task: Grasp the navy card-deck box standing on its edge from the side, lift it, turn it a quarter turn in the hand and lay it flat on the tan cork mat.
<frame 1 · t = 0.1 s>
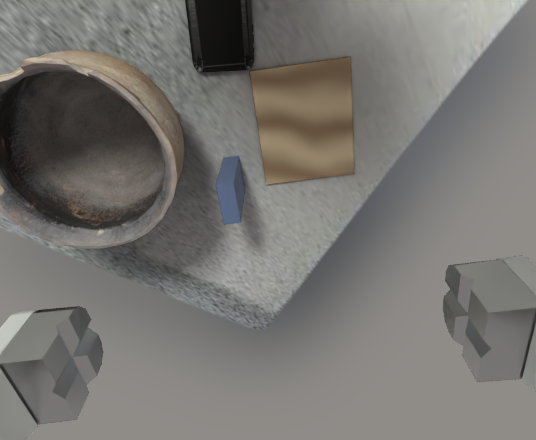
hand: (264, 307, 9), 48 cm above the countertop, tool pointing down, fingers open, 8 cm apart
deck box: (234, 174, 59), on the countertop
mat: (305, 124, 55), on the countertop
phone: (219, 5, 49), on the countertop
ceramic bowl: (117, 127, 56), on the countertop
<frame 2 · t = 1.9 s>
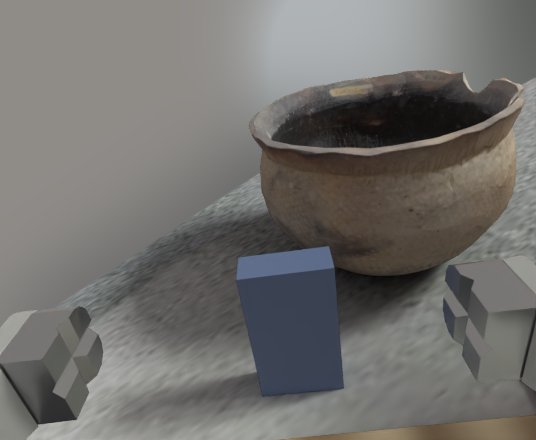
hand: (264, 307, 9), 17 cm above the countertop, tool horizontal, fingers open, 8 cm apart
deck box: (301, 378, 28), on the countertop
ceramic bowl: (377, 248, 41), on the countertop
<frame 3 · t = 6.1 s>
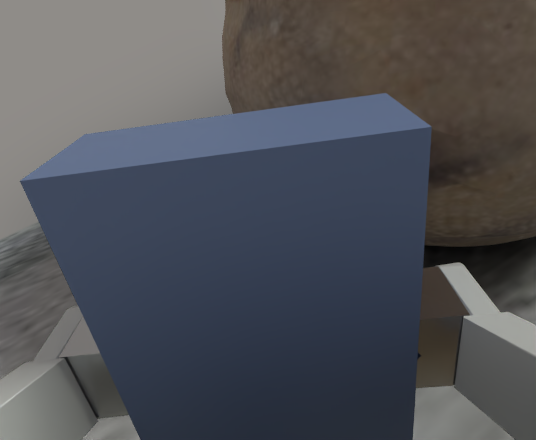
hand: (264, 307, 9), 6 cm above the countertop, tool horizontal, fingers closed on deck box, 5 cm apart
ceramic bowl: (429, 208, 24), on the countertop
when the fingers open (2 cm above the countertop, at t = 12.3 s): deck box drops 1 cm, resting on mat.
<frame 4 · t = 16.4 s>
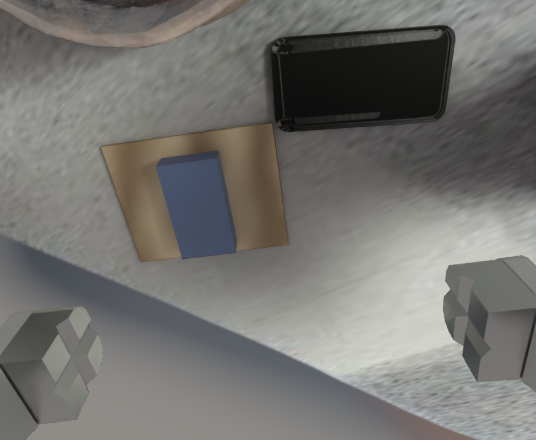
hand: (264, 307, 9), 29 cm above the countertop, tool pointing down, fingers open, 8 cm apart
deck box: (210, 249, 41), point 1 cm above the countertop, tilted 90°, touching mat
mat: (201, 197, 40), on the countertop
phone: (358, 80, 35), on the countertop
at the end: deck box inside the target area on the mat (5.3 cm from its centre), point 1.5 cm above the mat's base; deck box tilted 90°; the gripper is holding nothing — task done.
